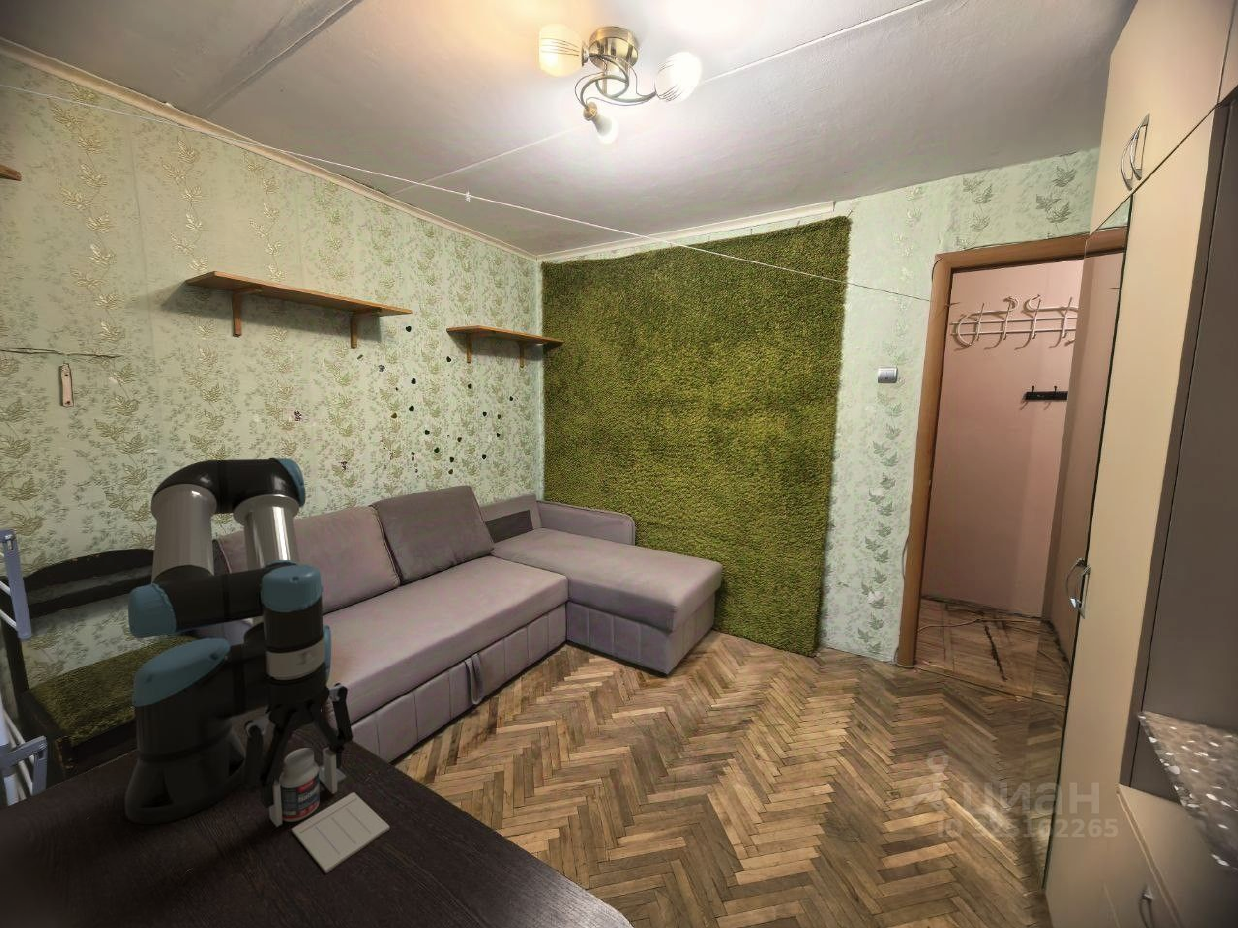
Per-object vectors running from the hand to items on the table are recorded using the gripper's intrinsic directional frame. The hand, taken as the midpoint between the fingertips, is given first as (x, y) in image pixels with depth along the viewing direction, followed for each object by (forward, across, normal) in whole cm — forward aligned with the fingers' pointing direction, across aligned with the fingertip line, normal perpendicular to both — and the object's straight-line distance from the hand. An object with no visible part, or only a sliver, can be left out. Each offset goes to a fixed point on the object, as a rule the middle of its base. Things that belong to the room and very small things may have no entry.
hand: (304, 803), depth 77 cm
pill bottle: (+1, -1, 0) cm, 1 cm away
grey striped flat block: (+1, +5, +4) cm, 7 cm away
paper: (0, +1, -9) cm, 9 cm away
